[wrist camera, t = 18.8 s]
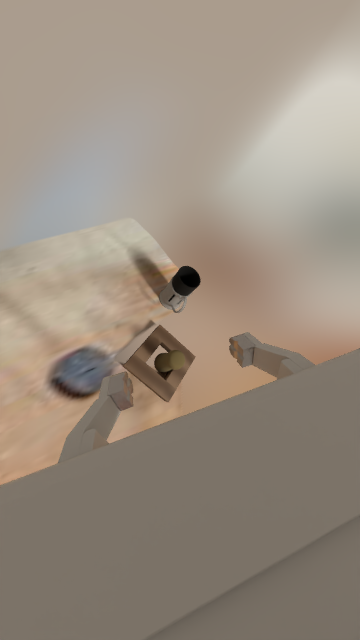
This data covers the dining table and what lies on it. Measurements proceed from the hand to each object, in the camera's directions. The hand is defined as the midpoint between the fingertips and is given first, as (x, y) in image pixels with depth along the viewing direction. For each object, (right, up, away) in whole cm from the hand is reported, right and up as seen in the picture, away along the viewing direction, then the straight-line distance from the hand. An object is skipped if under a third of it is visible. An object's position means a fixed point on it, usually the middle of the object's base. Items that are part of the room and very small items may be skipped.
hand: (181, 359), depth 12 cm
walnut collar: (-6, -10, +37) cm, 39 cm away
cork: (-5, -11, +37) cm, 39 cm away
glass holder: (-4, +8, +45) cm, 46 cm away
